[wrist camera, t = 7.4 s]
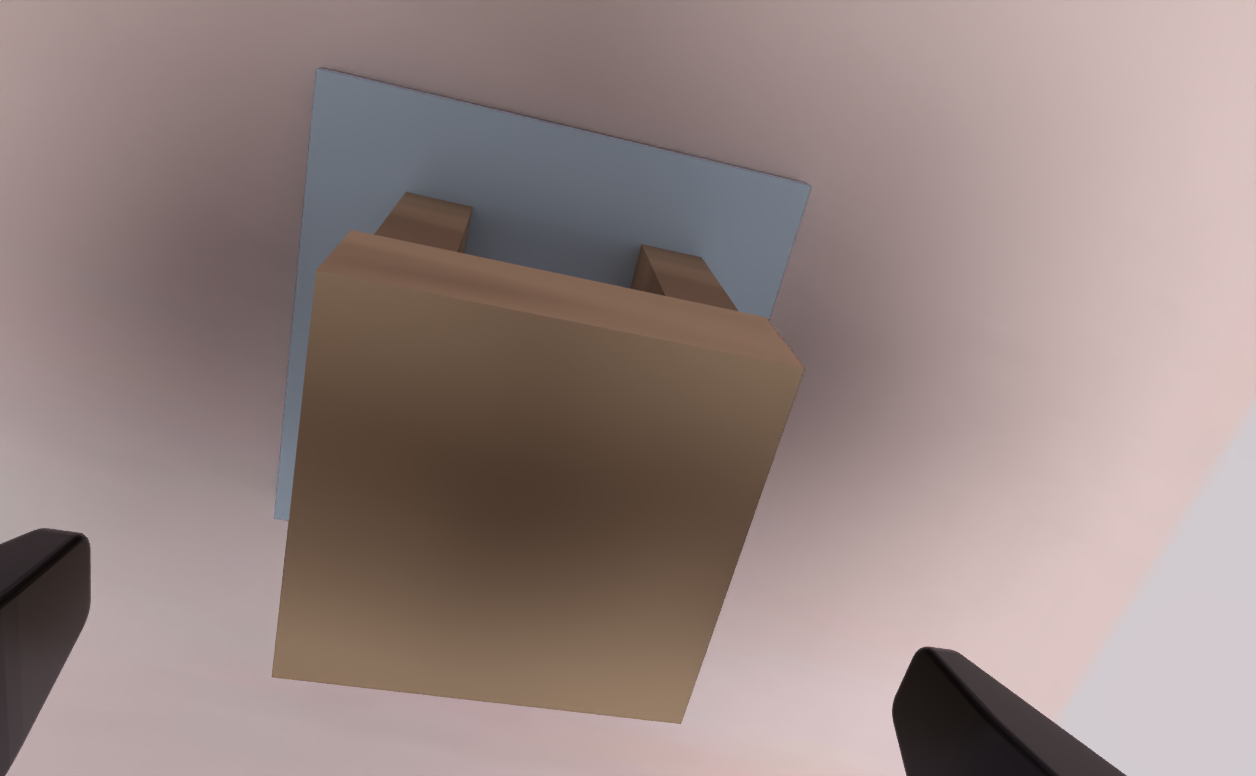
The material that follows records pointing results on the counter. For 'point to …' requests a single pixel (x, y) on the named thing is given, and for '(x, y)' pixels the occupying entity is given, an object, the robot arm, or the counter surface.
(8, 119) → the counter surface
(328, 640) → the stool
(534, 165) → the pad
